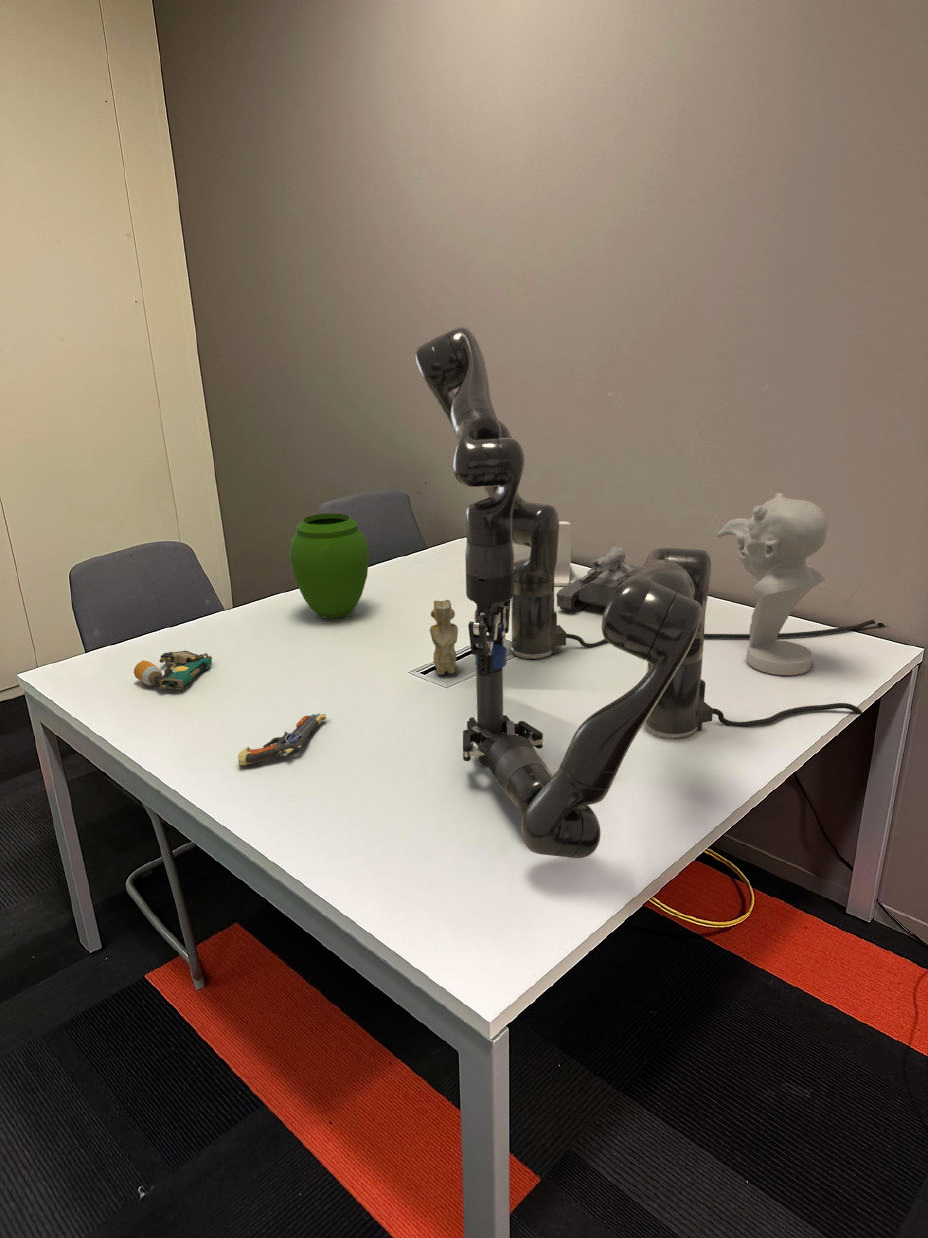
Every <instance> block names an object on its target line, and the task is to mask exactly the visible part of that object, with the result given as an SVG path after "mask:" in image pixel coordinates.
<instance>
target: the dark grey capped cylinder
mask: <svg viewBox="0 0 928 1238" xmlns="http://www.w3.org/2000/svg"><path fill="white" fill-rule="evenodd" d="M475 675H476V676H475V678H476V680H475V682H476V685H475V686H476V721H477V723H478V724H479V726H480V728H481V729H483V730H486V729H487V730H488V731H490V732H491V733H493V734H501V733H504V732H503V715H504V667H503V668H500V669H495V670H492V675H491V676H490V677H486V676H480V675H479V674H478V667H477V666H475ZM477 748H478V749H479V746H478V745H477ZM477 762H478V764H480V765H483V766H485V767H488V764H487V762H486V761H484V760H482V759H481V758H480V756H477Z"/></svg>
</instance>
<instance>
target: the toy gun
mask: <svg viewBox="0 0 928 1238" xmlns="http://www.w3.org/2000/svg"><path fill="white" fill-rule="evenodd" d="M326 719H327V714H325V713H317V714H315V713H312V714H311V715H304V716H302V718H301V719H300V720H298V722H297V723H296V724H295V725H296V726H295V727H296V728H295V729H294V730H293V731H292V732H287V731H284V733H283V735H282V736H277V737H273V738H272V739H271V740H269V741H268V742H266V743H265V744H264V745H263V746H262V747H260V748H255V749H253V748H252V749H251V747H250V746H247V747H245V748H244V749H242V750H241V751H240V752H239V753H238V755H237V760H238V764H239V766H246V765H250V764H254V763H258V762H262V761H265V760H268V759H271V758H275V757H279V756H282V755H284V754H286V755H288V754H290V753H292V752H294V751H295V750H296V749H300V748H301V747H302V746H303V744H304V743H305V742H306V741H307V740H308V738H309V736H310V734H311V733H312V732H313V731H314V730H315V729H316V728H317V727H318V726H319V725H320V724H321V723H322V722H324V721H326Z"/></svg>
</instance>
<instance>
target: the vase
mask: <svg viewBox="0 0 928 1238" xmlns="http://www.w3.org/2000/svg"><path fill="white" fill-rule="evenodd" d="M358 524H359V523H358V521H356V520H355V519H353V518H352V517H350V516H349V515H347V514H344V513H335V512H334V513H333V512H331V513H320V514H313V515H310V516H307V517H305V518H303V519H302V520H301V521H300V522H299V523H298V524H297V525H296V526H295V532H296V533H295V534H294V536H293V537H292V538H291V540H290V542H289V551H288V559H289V564H290V566H291V567H290V568H291V570H292V575H293V578H294V581H295V584H296V586H297V587H298V589H299V591H300V593H301V596H302V597H303V600H304V601H305V603H306V604H307V605H308V607H309V608H310V609H311V611H312V612H314V613H315V614H316V615H317V616H318V617H320V618H324V619H326V620H327V619H329V620H336V619H341V618H345V617H347V616H349V615H350V614H351V613H352V612H353V611H354V610H355V608H356V607H357V605H358V604H359V601H360V599H361V597H362V595H363V592H364V588H365V586H366V581H367V578H368V570H369V561H370V560H369V559H370V548H369V545H368V541H367V537H366V535H365V534H364V533H363V532H362V531H361V530H360V529H359V527H358Z"/></svg>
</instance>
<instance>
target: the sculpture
mask: <svg viewBox="0 0 928 1238" xmlns="http://www.w3.org/2000/svg"><path fill="white" fill-rule="evenodd" d="M455 615H456V611H455V609H453V608H452V602H451V601H450V599H445V600H433V610H431V612H430V617H431V618H432V619H433V620H434V621H435V622H436V623H435V624H433V625H431V626H429V633H430V636H431V640H432V641H431V642H432V643H433V645H434V648H435V649H434V652H433V656H432V657H433V659H432V660H433V665H434V667H435V668H436V671H437V674H438V675H445V674H446V672H447V673H448V674H455V673H456V666H457V665H456V663H457V652H456V649H455V644H456V643H457V642H458V637H459V635H458V634H459V627H458V626H457V624H455V623H453V622H451V621H452V620H453V619H454V618H455Z"/></svg>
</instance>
